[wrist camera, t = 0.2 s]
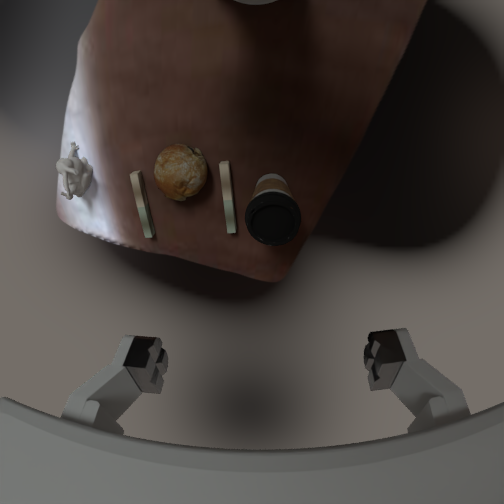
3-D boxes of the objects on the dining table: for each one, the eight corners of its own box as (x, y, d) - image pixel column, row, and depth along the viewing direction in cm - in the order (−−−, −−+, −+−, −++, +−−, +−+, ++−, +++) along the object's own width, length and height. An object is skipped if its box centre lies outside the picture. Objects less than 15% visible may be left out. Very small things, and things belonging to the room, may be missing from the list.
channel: (133, 171, 55) (129, 174, 53) (229, 160, 53) (228, 163, 52) (148, 232, 62) (145, 237, 61) (236, 228, 61) (235, 232, 59)
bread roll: (215, 162, 57) (219, 154, 49) (192, 209, 57) (193, 208, 49) (170, 141, 54) (167, 130, 47) (146, 188, 55) (140, 184, 47)
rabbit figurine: (71, 140, 51) (44, 153, 43) (100, 141, 51) (74, 155, 43) (73, 192, 57) (50, 211, 49) (101, 195, 58) (79, 216, 50)
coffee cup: (267, 158, 53) (267, 186, 40) (303, 184, 55) (314, 221, 43) (240, 191, 57) (232, 229, 44) (275, 216, 59) (277, 259, 46)
